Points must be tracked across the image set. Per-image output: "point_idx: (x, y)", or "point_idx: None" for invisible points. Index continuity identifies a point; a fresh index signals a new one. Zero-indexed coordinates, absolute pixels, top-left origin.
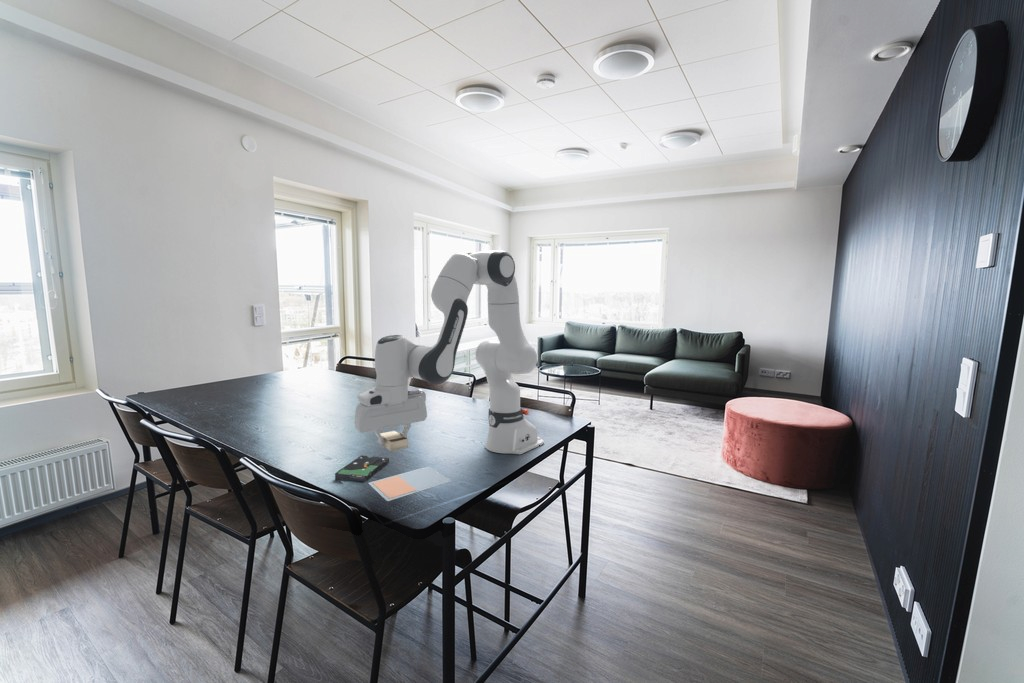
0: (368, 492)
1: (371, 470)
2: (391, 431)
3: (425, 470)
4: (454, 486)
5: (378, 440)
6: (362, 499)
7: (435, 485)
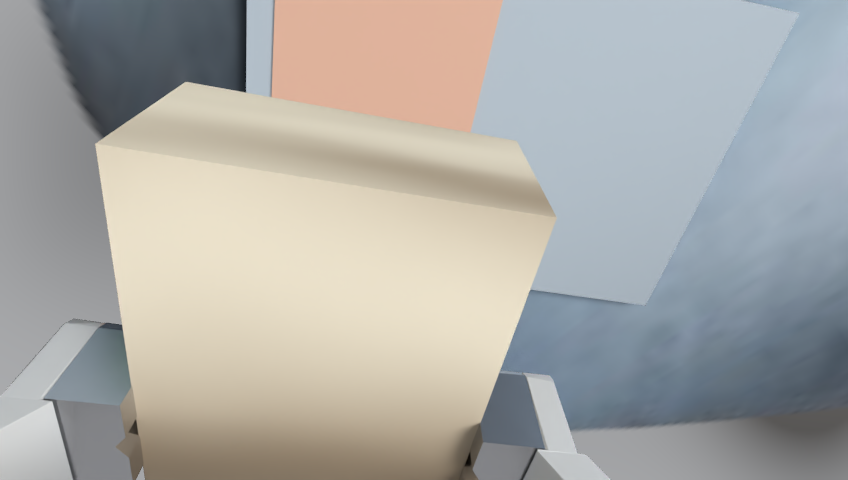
0: (207, 29)
1: None
2: (463, 219)
3: (706, 65)
4: (615, 329)
5: (47, 357)
6: (138, 94)
7: (550, 285)
